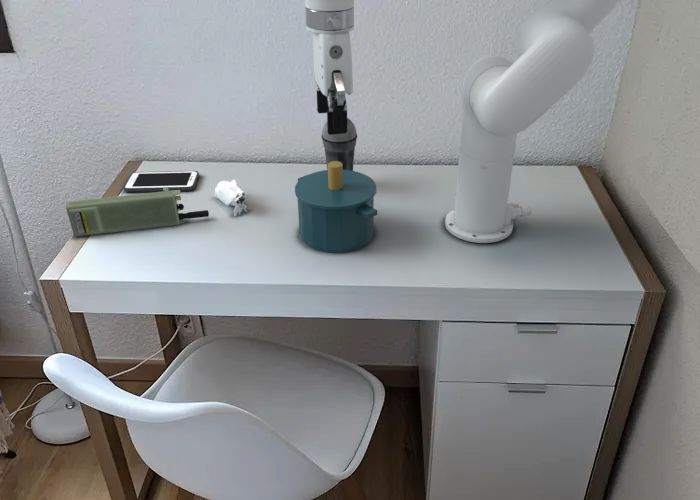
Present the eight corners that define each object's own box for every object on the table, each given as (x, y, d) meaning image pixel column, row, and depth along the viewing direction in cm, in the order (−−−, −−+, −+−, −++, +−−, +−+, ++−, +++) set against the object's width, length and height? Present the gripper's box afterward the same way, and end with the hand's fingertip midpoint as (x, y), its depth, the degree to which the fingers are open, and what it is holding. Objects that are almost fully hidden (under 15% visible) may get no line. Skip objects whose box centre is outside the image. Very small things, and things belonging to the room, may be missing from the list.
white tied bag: (257, 212, 132) (231, 185, 137) (253, 189, 127) (226, 161, 132) (236, 224, 130) (211, 195, 135) (231, 200, 125) (205, 171, 130)
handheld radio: (75, 229, 125) (209, 214, 129) (73, 239, 122) (209, 223, 126) (66, 199, 121) (204, 184, 125) (64, 208, 118) (205, 193, 122)
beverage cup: (359, 180, 141) (358, 89, 130) (356, 196, 135) (355, 102, 124) (325, 178, 142) (322, 88, 131) (321, 194, 135) (317, 101, 125)
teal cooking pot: (330, 203, 132) (329, 162, 127) (398, 239, 120) (400, 195, 116) (276, 227, 125) (273, 184, 120) (343, 267, 113) (343, 222, 108)
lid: (339, 168, 127) (338, 140, 124) (393, 193, 118) (394, 164, 115) (278, 192, 118) (276, 163, 115) (332, 221, 109) (331, 191, 106)
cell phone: (132, 176, 143) (131, 172, 143) (199, 174, 144) (199, 170, 143) (123, 192, 137) (122, 188, 136) (193, 191, 137) (193, 186, 137)
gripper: (366, 31, 96) (364, 140, 105) (342, 5, 110) (343, 103, 119) (315, 34, 95) (318, 144, 104) (297, 7, 109) (302, 106, 118)
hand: (331, 122), depth 112 cm, fingers open, 9 cm apart
